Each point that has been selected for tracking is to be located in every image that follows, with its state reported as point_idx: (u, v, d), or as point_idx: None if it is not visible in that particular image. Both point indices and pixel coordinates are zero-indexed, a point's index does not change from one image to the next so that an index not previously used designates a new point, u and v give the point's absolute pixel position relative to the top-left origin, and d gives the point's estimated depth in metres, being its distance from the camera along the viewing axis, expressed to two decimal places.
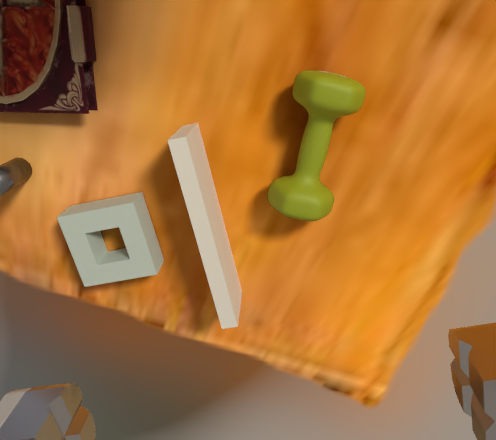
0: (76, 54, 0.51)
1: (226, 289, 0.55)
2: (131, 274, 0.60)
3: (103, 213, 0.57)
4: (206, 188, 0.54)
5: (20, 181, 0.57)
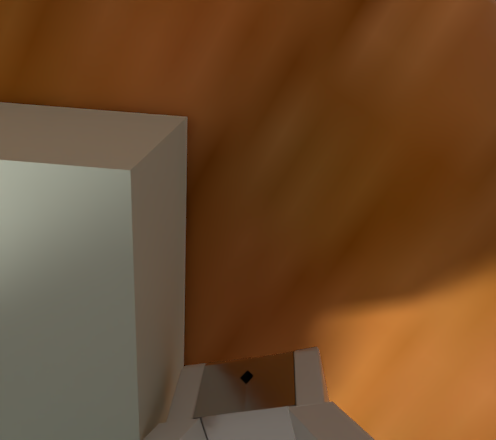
0: None
1: None
2: None
3: None
4: None
5: None
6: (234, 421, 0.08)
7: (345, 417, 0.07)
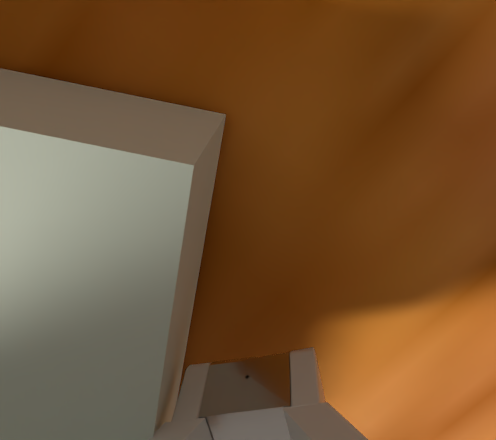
0: None
1: None
2: None
3: None
4: None
5: None
6: (240, 420, 0.08)
7: (340, 418, 0.07)
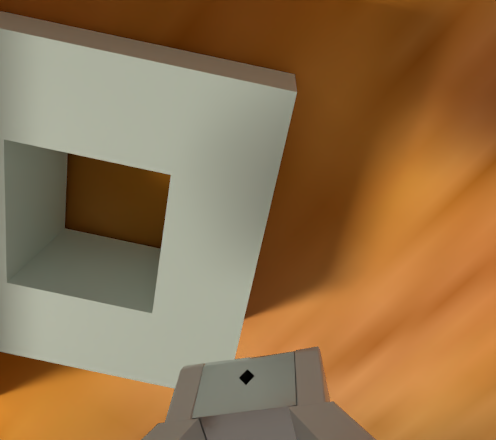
0: None
1: None
2: (22, 60, 0.11)
3: (47, 345, 0.15)
4: None
5: None
6: (233, 421, 0.08)
7: (346, 417, 0.07)
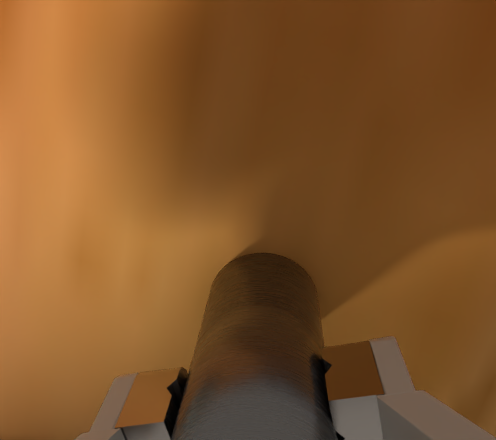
0: None
1: None
2: None
3: None
4: None
5: (202, 335, 0.10)
6: (155, 431, 0.08)
7: (442, 405, 0.07)
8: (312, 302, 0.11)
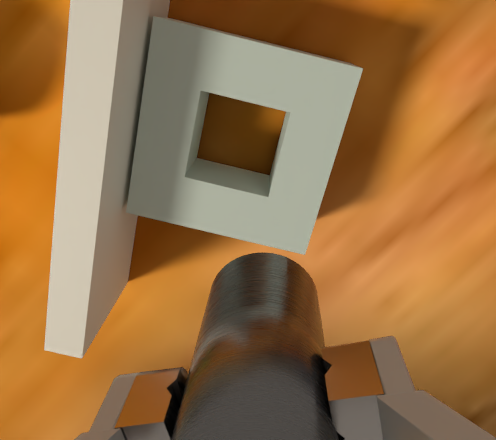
0: None
1: None
2: (219, 47, 0.22)
3: (201, 219, 0.25)
4: None
5: (202, 334, 0.10)
6: (155, 431, 0.08)
7: (442, 405, 0.07)
8: (312, 301, 0.11)
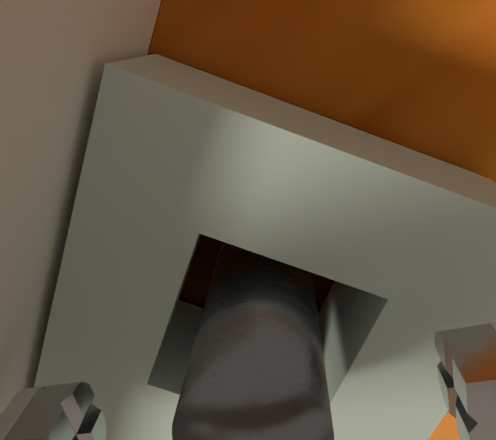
0: None
1: None
2: (254, 151, 0.09)
3: None
4: None
5: (213, 283, 0.12)
6: None
7: None
8: None
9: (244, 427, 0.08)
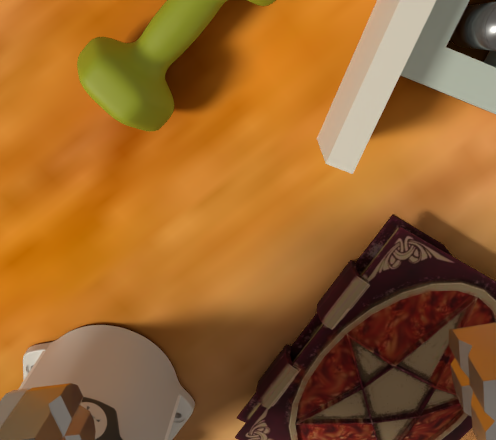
0: (360, 288, 0.41)
1: None
2: None
3: (447, 83, 0.33)
4: (362, 61, 0.32)
5: (466, 14, 0.33)
6: None
7: None
8: None
9: None
